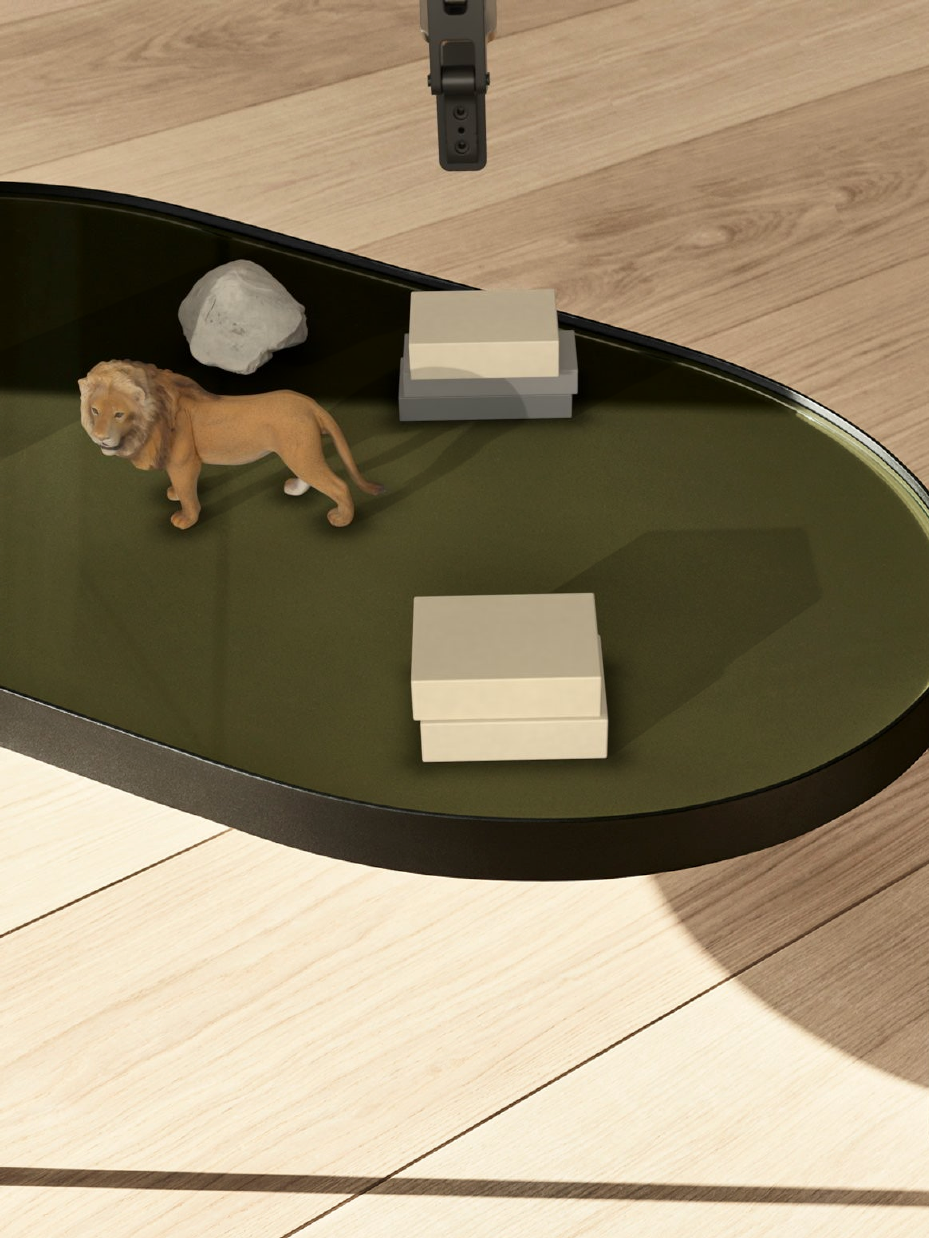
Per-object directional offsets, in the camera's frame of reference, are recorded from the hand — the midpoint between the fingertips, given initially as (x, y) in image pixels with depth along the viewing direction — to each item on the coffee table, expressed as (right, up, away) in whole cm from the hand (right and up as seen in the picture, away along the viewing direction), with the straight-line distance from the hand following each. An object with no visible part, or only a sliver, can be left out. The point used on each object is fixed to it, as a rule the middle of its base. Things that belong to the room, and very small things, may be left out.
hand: (464, 130), depth 89 cm
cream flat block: (+1, -8, +13) cm, 15 cm away
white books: (+2, -28, -7) cm, 29 cm away
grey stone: (-13, -7, +19) cm, 25 cm away
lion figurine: (-12, -18, +6) cm, 23 cm away
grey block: (+1, -11, +15) cm, 18 cm away
